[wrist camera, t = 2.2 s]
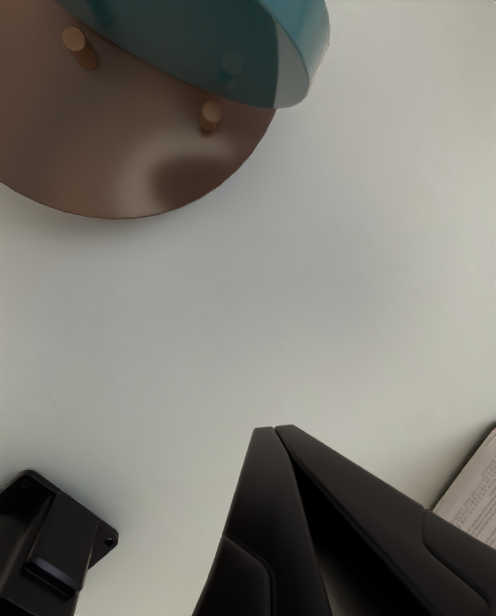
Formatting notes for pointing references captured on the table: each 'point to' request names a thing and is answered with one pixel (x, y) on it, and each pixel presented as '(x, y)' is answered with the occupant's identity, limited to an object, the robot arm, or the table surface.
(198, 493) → the table surface
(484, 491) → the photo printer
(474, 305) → the table surface
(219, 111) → the dish rack
